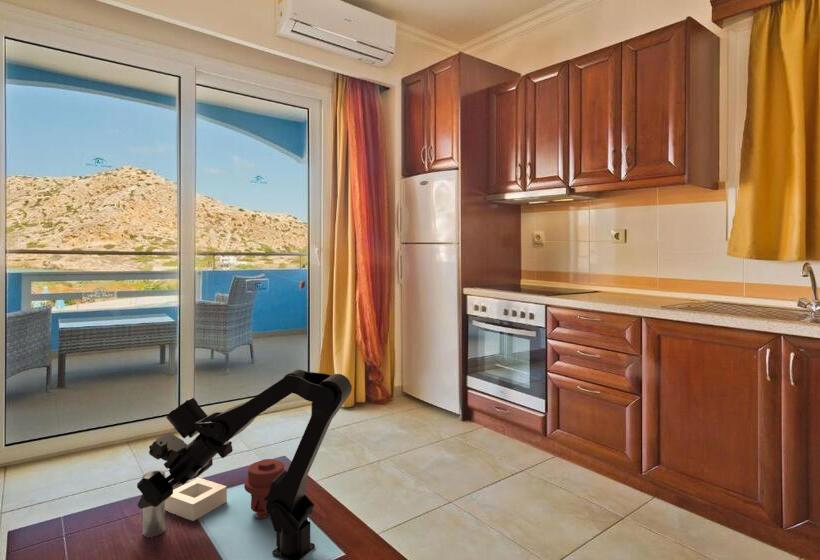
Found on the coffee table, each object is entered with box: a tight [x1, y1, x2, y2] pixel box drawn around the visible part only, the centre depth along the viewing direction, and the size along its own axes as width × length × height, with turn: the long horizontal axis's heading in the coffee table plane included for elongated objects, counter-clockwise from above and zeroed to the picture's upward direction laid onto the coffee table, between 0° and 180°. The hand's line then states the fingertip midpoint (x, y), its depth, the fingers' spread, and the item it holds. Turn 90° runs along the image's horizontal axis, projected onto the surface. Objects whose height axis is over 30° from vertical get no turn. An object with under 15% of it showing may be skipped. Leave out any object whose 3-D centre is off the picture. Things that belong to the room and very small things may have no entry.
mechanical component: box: [243, 458, 285, 520], centre depth 117 cm, size 12×10×10 cm
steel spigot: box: [141, 469, 166, 538], centre depth 108 cm, size 5×5×13 cm
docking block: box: [165, 477, 228, 522], centre depth 119 cm, size 10×10×4 cm
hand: (154, 496), depth 108 cm, fingers open, 9 cm apart
